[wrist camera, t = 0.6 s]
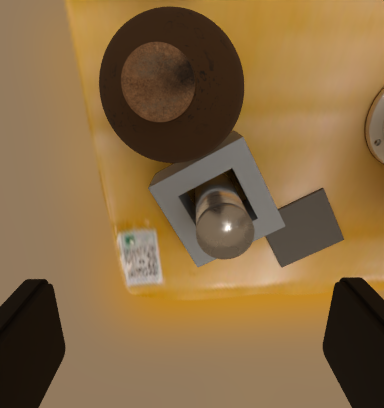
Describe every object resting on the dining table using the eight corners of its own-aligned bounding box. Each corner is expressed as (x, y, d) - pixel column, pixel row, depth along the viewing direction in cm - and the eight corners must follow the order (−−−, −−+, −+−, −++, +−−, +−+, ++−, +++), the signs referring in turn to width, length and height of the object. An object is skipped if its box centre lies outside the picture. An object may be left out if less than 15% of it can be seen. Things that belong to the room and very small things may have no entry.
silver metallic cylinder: (222, 164, 38) (239, 196, 25) (240, 197, 40) (263, 244, 27) (187, 182, 39) (185, 223, 26) (205, 214, 41) (212, 268, 28)
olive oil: (194, 154, 38) (197, 239, 14) (123, 110, 36) (-6, 125, 12) (239, 81, 35) (338, 36, 11) (165, 29, 33) (97, -156, 9)
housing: (234, 130, 37) (243, 136, 30) (270, 206, 40) (285, 226, 34) (155, 173, 39) (148, 188, 32) (196, 241, 42) (197, 267, 36)
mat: (322, 187, 39) (323, 188, 39) (342, 238, 42) (344, 239, 42) (257, 219, 41) (257, 220, 41) (280, 266, 44) (281, 267, 43)
